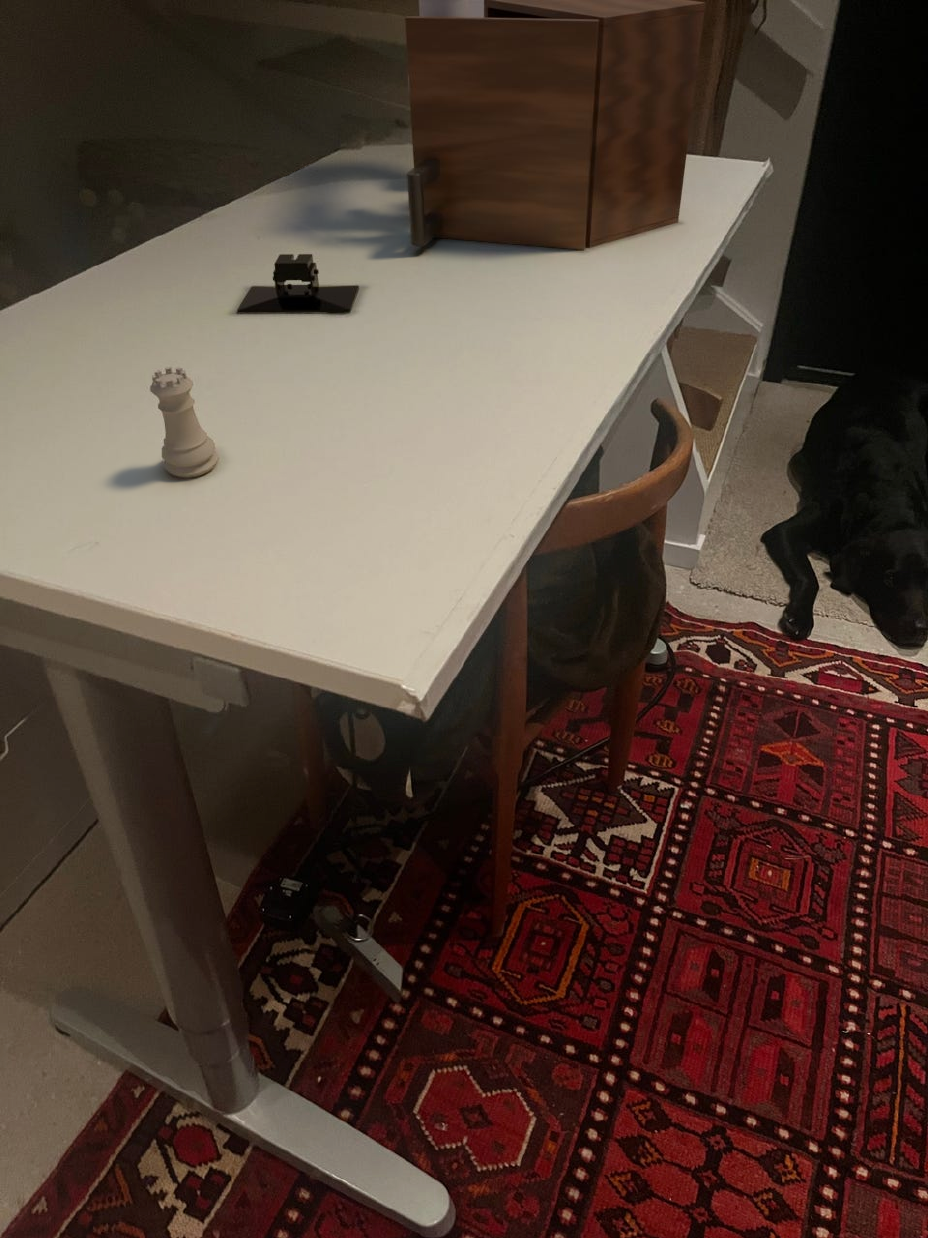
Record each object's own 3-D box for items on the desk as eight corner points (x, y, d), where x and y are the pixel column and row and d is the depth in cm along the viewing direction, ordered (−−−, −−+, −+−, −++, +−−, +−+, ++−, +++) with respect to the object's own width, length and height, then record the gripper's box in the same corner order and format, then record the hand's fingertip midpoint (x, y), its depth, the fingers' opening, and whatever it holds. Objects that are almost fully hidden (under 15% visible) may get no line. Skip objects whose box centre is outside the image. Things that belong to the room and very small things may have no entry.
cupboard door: (570, 270, 103) (582, 31, 88) (397, 254, 109) (380, 27, 94) (585, 247, 109) (599, 19, 94) (420, 233, 115) (407, 15, 99)
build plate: (359, 289, 102) (355, 247, 98) (350, 315, 96) (345, 271, 93) (252, 288, 102) (244, 246, 99) (236, 314, 97) (228, 271, 94)
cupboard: (589, 248, 109) (604, 17, 94) (485, 206, 123) (483, -2, 107) (678, 222, 115) (705, 2, 100) (570, 185, 129) (579, -14, 113)
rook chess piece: (169, 452, 75) (144, 363, 70) (223, 449, 75) (202, 359, 70) (160, 481, 72) (133, 389, 66) (216, 477, 72) (194, 385, 66)
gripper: (383, 35, 107) (393, 159, 116) (451, 51, 98) (455, 184, 107) (432, 28, 110) (438, 149, 119) (503, 43, 101) (503, 173, 110)
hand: (449, 165), depth 113 cm, fingers closed
